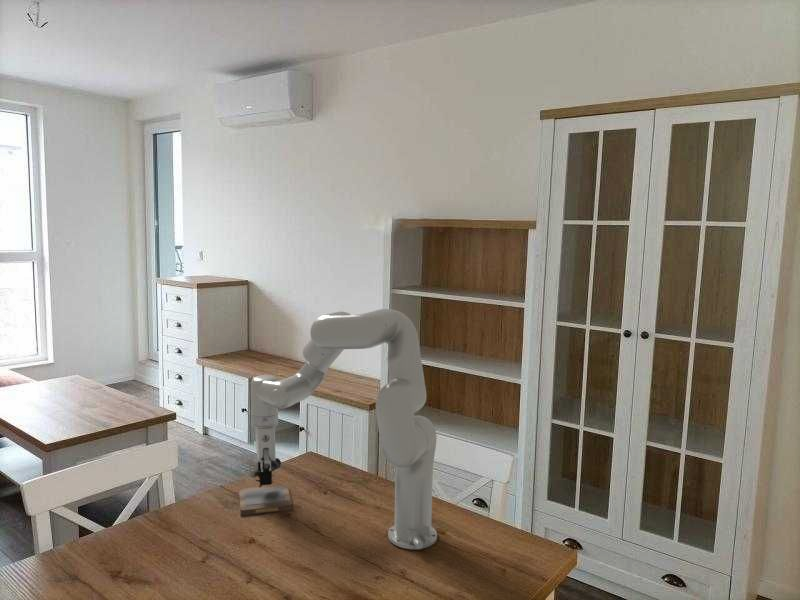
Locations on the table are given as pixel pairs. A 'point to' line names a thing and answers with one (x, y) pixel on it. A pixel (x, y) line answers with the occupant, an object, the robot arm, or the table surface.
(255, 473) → the eagle figurine
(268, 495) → the wooden picture frame
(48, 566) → the table surface
